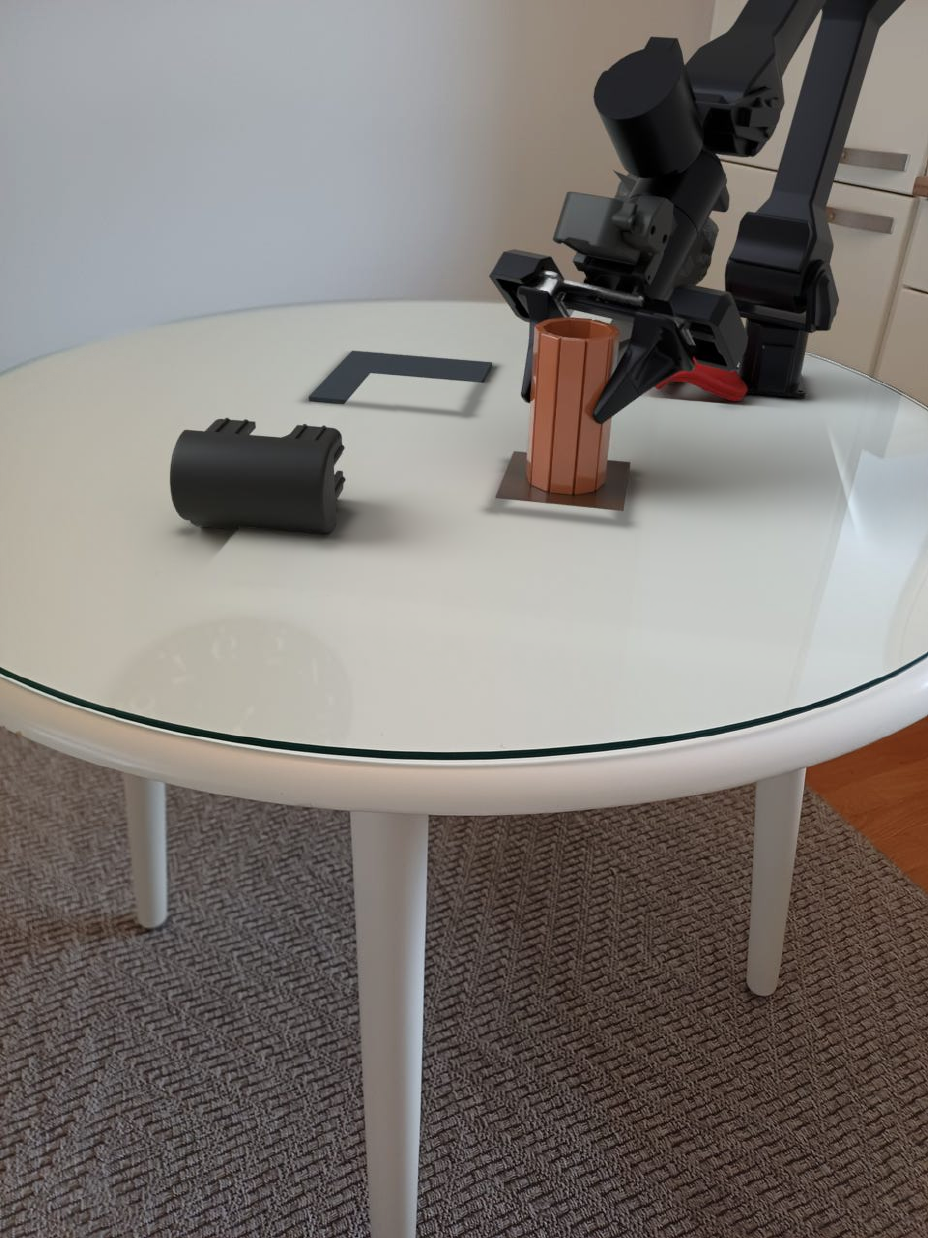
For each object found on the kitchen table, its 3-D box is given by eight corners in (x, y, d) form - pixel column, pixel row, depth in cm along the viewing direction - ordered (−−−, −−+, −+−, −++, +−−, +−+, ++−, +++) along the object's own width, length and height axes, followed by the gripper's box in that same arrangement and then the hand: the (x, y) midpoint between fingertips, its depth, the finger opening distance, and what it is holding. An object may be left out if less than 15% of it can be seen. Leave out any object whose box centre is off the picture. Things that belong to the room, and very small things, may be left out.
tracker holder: (774, 389, 98) (705, 372, 92) (746, 429, 101) (677, 416, 94) (694, 320, 105) (625, 300, 99) (670, 359, 108) (601, 342, 101)
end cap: (175, 544, 71) (163, 446, 67) (213, 500, 77) (203, 408, 73) (324, 558, 70) (320, 459, 66) (351, 512, 76) (348, 419, 72)
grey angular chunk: (730, 346, 113) (759, 160, 104) (672, 384, 102) (699, 180, 93) (607, 322, 119) (623, 145, 110) (539, 356, 108) (552, 162, 99)
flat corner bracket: (352, 354, 107) (352, 350, 107) (492, 366, 105) (492, 361, 105) (308, 400, 95) (308, 396, 95) (465, 414, 93) (465, 410, 93)
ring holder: (512, 462, 84) (516, 387, 81) (629, 473, 83) (637, 398, 80) (494, 510, 77) (497, 429, 74) (622, 523, 75) (631, 441, 72)
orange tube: (531, 460, 82) (540, 314, 76) (607, 468, 81) (622, 320, 76) (520, 490, 77) (529, 336, 72) (602, 498, 76) (617, 343, 71)
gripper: (511, 128, 76) (404, 317, 74) (757, 159, 65) (640, 379, 64) (567, 230, 85) (474, 401, 83) (790, 271, 75) (689, 466, 73)
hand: (559, 410), depth 75 cm, fingers closed on orange tube, 6 cm apart
